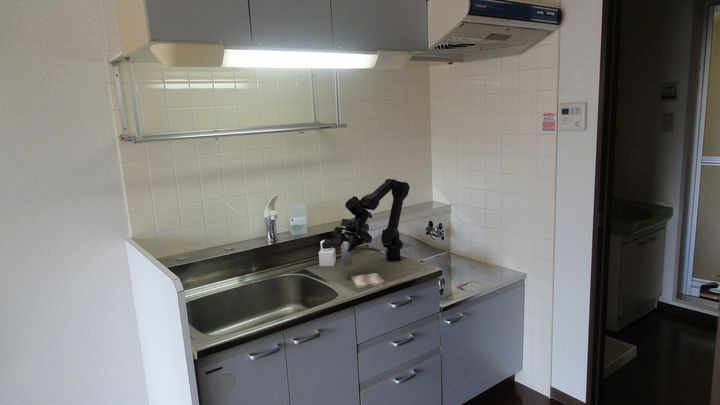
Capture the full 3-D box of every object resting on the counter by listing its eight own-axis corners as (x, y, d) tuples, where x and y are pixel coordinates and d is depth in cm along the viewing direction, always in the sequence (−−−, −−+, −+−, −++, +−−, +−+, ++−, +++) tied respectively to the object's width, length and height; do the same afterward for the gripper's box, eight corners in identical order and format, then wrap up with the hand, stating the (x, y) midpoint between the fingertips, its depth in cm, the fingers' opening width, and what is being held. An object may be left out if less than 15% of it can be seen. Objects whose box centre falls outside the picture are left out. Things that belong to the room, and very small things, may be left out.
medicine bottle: (336, 261, 233) (334, 238, 231) (333, 266, 227) (332, 242, 224) (322, 261, 234) (320, 238, 232) (319, 266, 227) (317, 242, 225)
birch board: (377, 275, 211) (376, 272, 210) (384, 284, 199) (384, 281, 199) (351, 279, 208) (351, 276, 208) (357, 288, 196) (357, 285, 196)
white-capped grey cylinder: (347, 262, 210) (345, 240, 208) (354, 263, 207) (353, 241, 205) (339, 265, 206) (338, 242, 204) (347, 266, 203) (346, 244, 201)
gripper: (335, 209, 211) (319, 238, 205) (366, 213, 199) (350, 244, 193) (347, 222, 218) (332, 251, 212) (379, 227, 206) (364, 257, 200)
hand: (344, 250), depth 204 cm, fingers closed on white-capped grey cylinder, 5 cm apart
